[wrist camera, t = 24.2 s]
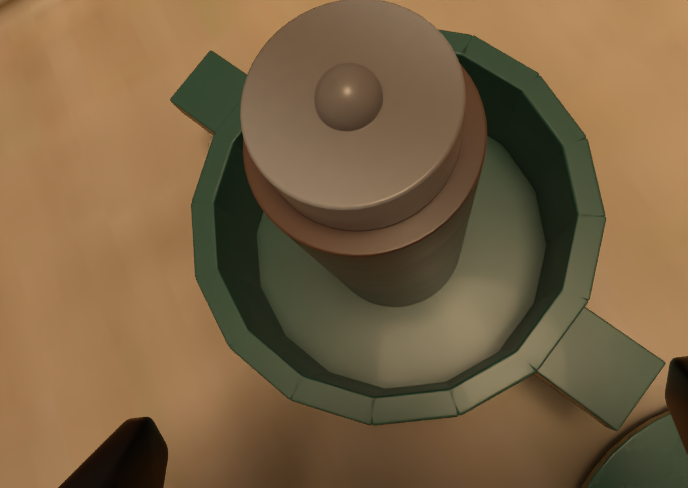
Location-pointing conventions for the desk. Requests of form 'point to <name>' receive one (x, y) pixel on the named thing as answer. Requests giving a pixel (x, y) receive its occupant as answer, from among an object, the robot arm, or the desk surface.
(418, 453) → the desk surface
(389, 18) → the pepper mill
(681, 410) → the robot arm
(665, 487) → the lid
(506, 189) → the pot
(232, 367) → the desk surface
